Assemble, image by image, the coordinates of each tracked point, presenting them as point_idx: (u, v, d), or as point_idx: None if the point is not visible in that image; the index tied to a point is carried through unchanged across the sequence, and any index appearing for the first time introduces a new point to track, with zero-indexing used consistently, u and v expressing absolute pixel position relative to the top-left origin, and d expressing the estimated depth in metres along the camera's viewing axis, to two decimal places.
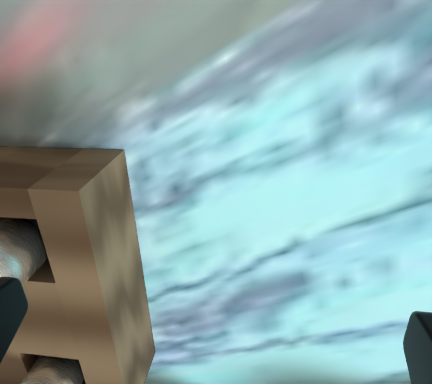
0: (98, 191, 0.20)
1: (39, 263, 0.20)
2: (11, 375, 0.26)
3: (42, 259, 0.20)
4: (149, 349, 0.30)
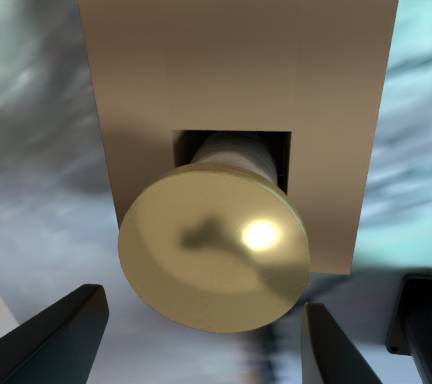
0: None
1: None
2: None
3: None
4: None
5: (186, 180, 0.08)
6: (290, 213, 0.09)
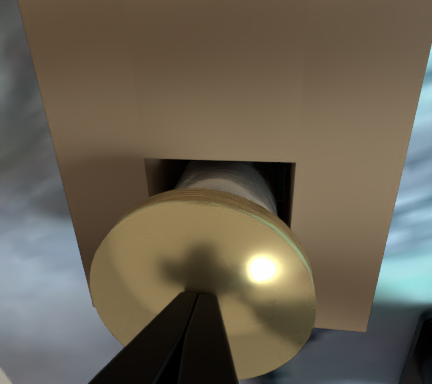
0: None
1: None
2: None
3: None
4: None
5: (168, 212, 0.07)
6: (293, 251, 0.07)
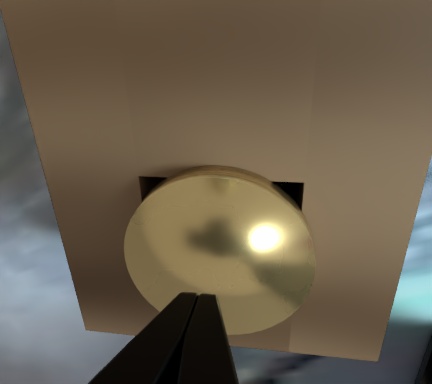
0: None
1: None
2: (105, 252, 0.11)
3: None
4: None
5: (193, 183, 0.09)
6: (296, 216, 0.09)
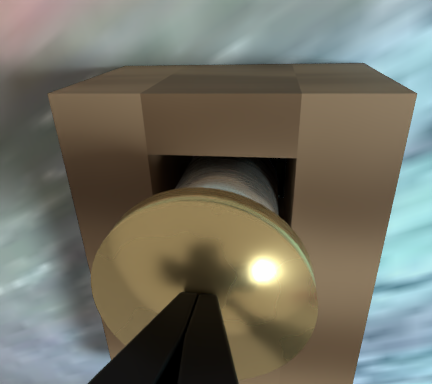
0: None
1: None
2: None
3: None
4: None
5: None
6: None
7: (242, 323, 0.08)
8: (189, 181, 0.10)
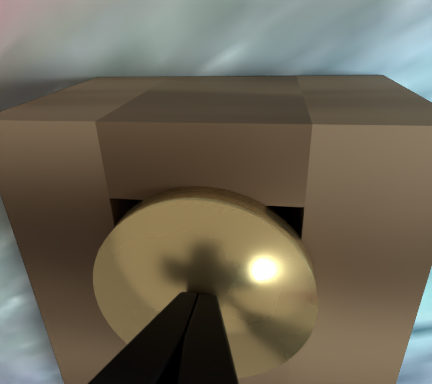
0: None
1: None
2: None
3: None
4: None
5: None
6: None
7: (243, 321, 0.08)
8: None
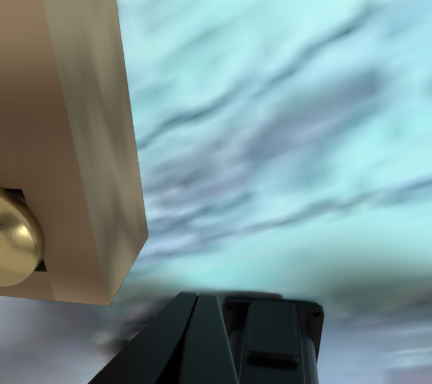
0: None
1: None
2: None
3: None
4: (140, 224, 0.21)
5: None
6: (9, 209, 0.14)
7: None
8: None
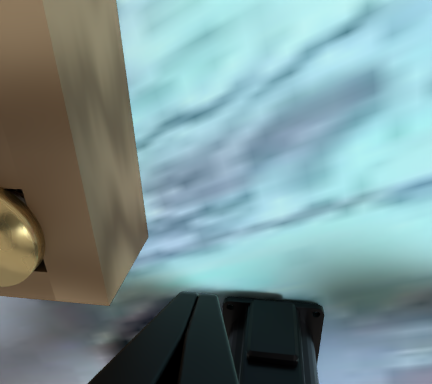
0: None
1: None
2: None
3: None
4: (140, 224, 0.21)
5: None
6: (9, 209, 0.14)
7: None
8: None
